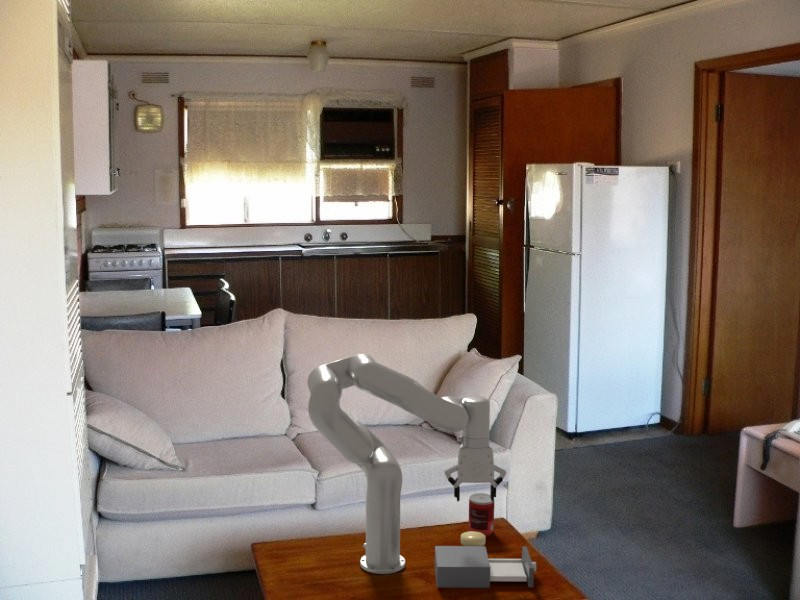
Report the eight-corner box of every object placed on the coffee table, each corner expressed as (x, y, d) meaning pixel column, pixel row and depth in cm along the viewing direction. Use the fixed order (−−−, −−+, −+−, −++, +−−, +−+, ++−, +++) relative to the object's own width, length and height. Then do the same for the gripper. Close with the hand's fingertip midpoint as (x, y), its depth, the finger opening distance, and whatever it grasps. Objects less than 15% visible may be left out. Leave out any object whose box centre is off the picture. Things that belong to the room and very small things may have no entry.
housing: (436, 587, 247) (437, 566, 246) (434, 565, 260) (435, 545, 259) (489, 587, 247) (490, 567, 246) (484, 565, 260) (485, 546, 259)
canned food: (487, 525, 288) (488, 491, 286) (497, 535, 280) (498, 501, 279) (464, 528, 285) (465, 494, 284) (474, 539, 278) (475, 503, 276)
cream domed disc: (455, 540, 266) (455, 534, 266) (476, 535, 269) (476, 529, 269) (469, 549, 260) (469, 543, 260) (490, 544, 264) (490, 538, 263)
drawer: (478, 587, 247) (479, 567, 246) (474, 564, 260) (474, 546, 259) (539, 587, 247) (539, 568, 246) (531, 564, 260) (532, 546, 260)
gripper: (445, 445, 256) (445, 504, 259) (508, 445, 256) (507, 504, 259) (444, 437, 264) (443, 494, 266) (505, 437, 264) (504, 494, 266)
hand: (475, 499), depth 263 cm, fingers open, 9 cm apart
